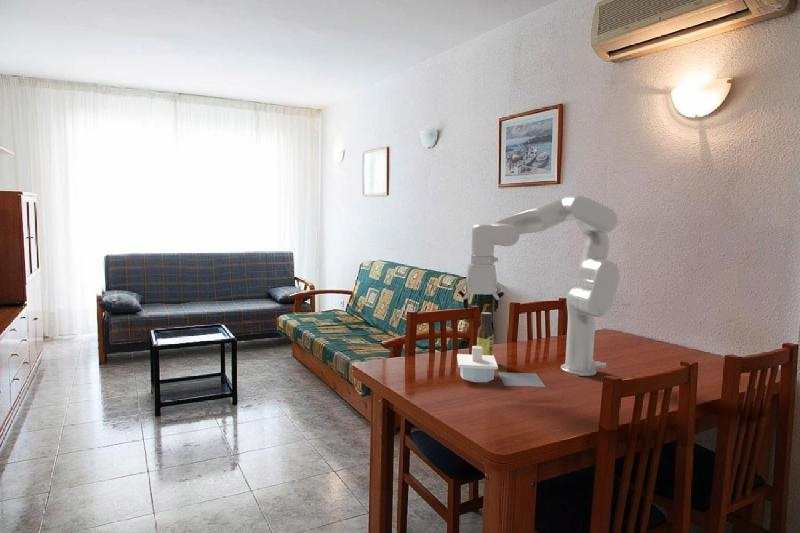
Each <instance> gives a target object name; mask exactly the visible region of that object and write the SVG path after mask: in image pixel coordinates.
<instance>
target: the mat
mask: <svg viewBox="0 0 800 533" xmlns="http://www.w3.org/2000/svg"><path fill="white" fill-rule="evenodd" d="M497 373H498V376H499V378H500V380H501V382H502V383H503V385H504V386H506V387H507V386H511V387H535V388H536V387H537V388H538V387H539V388H546V385H545V384H544V382H543V380H541V378H540V377H539V376H538V374H537V373H536V372H535V373H529V372H528V373H527V372H502V371H501V372H500V371H499V372H497Z"/></svg>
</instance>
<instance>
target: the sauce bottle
mask: <svg viewBox="0 0 800 533" xmlns="http://www.w3.org/2000/svg"><path fill="white" fill-rule="evenodd" d="M492 315H493V314H492V312H490V311H489V312H487V311H484V312H481V313H480V317H481V318H480V320H481V321H480V326H478V329H477V336H476V346H482V355H492V356H494V342H495V333H494V330H493V326H492Z"/></svg>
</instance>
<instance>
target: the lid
mask: <svg viewBox="0 0 800 533" xmlns="http://www.w3.org/2000/svg"><path fill="white" fill-rule="evenodd" d="M456 358H457V359H456V360H457V366H458V368H459V369H461V368H478V369H494V370H498V369H499V366H498V363H497V360H496V358H495V355H493V356H492V355H482V346H477V345H472V348H471V354H467V353H466V354H465V353H464V354H463V353H457V354H456Z"/></svg>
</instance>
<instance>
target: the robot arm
mask: <svg viewBox="0 0 800 533" xmlns="http://www.w3.org/2000/svg"><path fill="white" fill-rule="evenodd" d="M568 221H575V223H576V225H577V227H578V228H579V229H580V231H581V233H582V235H583V238H584V245H583V246H584V247H583V250H582V253H581V257H580V261H579V265H578V269H577V276H578V279H579V280H580V281H581V282H583V283H586V284H590V285H592V287H589V286H584V285H577V286H574V287H572V288H571V289H570V290H569V291H568V292H567V294H566V308H567V329H566V330H567V331H566V343H565V346H566V348H565V361H564V362H565V363H563V364H561V365H560V369H561V370H562V371H564V372H567V373H570V374H573V375H577V376H578V377H590V376H595V375H596V374H597V370H598V368H600V369H606V368H607V363H606V362H601V361H599V360H598V361H596V360H594V345H595V333H596V332H595V331H596V320H595V318H603V317H606V316H607V315H608V314H609V313H610V311H611V310H612V307H613V305H614V302H615V297H616V294H617V290H618V286H619V284H620V283H619V282H620V278H621V277H620V276H621V272H620V268H619V266H618V265H617V264H616V262H614V261H613V260H610V259H608V256H609V250H610V239H609V235H608V233H611V232H612V231H614V230H615V229H616V227H617V225H618V223H619V222H618V221H619V220H618V215H617V213H616V211H615V210H613V209H612V208H610V207H608V206H606V205H604V204H603V203H600V202H598V201H595V200H593V199H591V198H589V197H586V196H584V195H580V194H579V195H577V194H576V195H564V196H561V197H558V198H555V199H554V200H550V201H549V202H546V203H543V204H541V205H539V206H537V207H534V208H532V209H528V210H525V211H522V212H518V213H516V214H513V215H510V216H507V217H505V218H502V219H499V220H497V221H494V222H493V223H491V224H487V223H486V224H483V223H478V224H474V225H473V226H472V230H471V231H472V232H471V256H470V264H469V263H468V266H467V271H466V278H465V280H464V281H462V282H461V283H458V284H456V285H455V288H456V291H457V292H458V294H459V296H460V297H462V300H463V303H462V308H463V309H464V311H465V312H468V311H469V299H468V297H469V296H470V295H492V296H493V299H492V311H493V312H497V310H498V309H499V300H500V299H501V298H502V297H503V296H504V295H505V293H506V292H507V289H508V287H507V286H505V285H504V284H502V283H500V282H498V281H497V269H496V265H495V264H494V263H496V262H499V258H498V257H497V256H495V246H501V247H512V246H514V245H515V244H517V242H519V239H520V235H525V234H534V233H536V234H537V233H540V232H545V231H547V230H549V229H552V228H553V227H556V226H558V225H560V224H562V223H565V222H568ZM463 287H464V288H465V290H466V291H465V292H463V291H462V288H463ZM497 288H500V292H498V293H497V290H498V289H497Z"/></svg>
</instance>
